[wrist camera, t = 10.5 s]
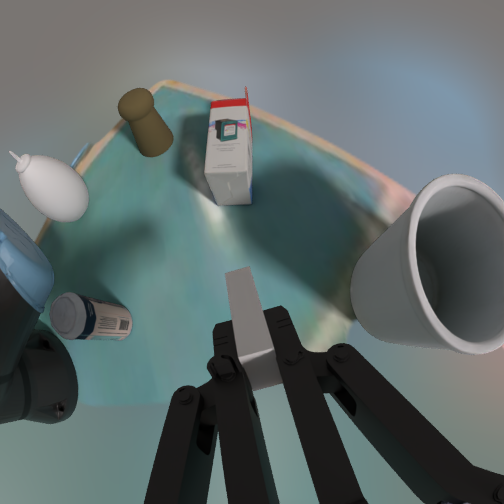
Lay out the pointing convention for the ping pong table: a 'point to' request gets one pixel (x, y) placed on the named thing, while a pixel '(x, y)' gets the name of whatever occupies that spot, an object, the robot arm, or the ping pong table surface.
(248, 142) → the ink box
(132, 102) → the cork
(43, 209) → the air blower bulb
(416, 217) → the utensil holder
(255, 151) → the ping pong table surface
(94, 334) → the beer can
